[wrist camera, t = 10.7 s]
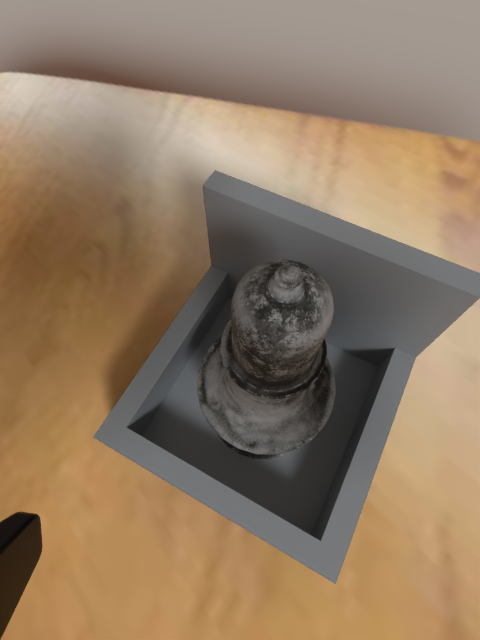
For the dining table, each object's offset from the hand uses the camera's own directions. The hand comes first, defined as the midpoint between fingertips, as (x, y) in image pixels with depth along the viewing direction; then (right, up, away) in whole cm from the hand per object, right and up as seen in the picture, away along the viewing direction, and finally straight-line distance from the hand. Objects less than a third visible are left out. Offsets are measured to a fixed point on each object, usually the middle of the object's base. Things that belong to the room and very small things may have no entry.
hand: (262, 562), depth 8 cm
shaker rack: (+1, 0, +13) cm, 13 cm away
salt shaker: (+1, 0, +12) cm, 12 cm away
